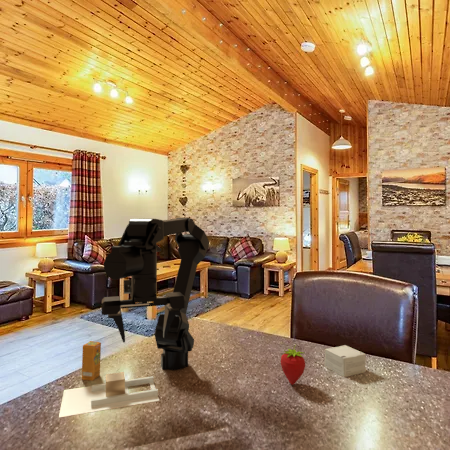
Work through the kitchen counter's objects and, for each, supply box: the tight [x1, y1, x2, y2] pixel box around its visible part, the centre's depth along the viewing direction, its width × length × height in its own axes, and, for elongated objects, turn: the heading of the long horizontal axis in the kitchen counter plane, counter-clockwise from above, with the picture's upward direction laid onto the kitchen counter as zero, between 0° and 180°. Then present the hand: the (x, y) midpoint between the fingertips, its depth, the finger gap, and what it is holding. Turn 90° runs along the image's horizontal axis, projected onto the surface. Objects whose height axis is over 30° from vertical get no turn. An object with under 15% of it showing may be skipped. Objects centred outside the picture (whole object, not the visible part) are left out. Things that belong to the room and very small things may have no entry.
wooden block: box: [105, 371, 126, 397], centre depth 80 cm, size 4×4×4 cm
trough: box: [58, 375, 160, 418], centre depth 79 cm, size 20×12×3 cm, turn 110°
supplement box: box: [81, 340, 102, 381], centre depth 88 cm, size 3×3×10 cm
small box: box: [324, 344, 367, 378], centre depth 97 cm, size 8×8×5 cm
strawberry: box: [280, 344, 306, 386], centre depth 88 cm, size 6×8×10 cm
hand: (144, 339), depth 82 cm, fingers open, 9 cm apart
